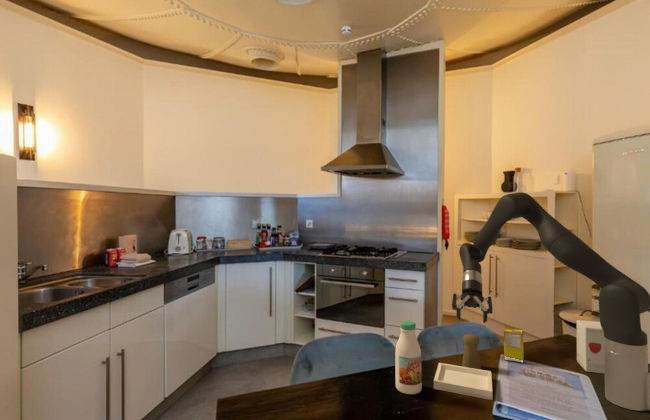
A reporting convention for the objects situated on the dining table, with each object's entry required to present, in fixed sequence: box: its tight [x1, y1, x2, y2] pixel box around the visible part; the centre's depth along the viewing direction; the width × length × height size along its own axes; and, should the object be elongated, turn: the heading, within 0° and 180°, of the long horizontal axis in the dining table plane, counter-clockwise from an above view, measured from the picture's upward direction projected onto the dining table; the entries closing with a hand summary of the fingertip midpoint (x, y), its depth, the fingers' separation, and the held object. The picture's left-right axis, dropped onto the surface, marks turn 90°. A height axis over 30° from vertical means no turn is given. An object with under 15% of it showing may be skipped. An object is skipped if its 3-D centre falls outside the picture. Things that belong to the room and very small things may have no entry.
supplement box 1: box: [503, 326, 525, 361], centre depth 124 cm, size 6×6×11 cm
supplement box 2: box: [576, 319, 605, 375], centre depth 116 cm, size 9×9×15 cm
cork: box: [461, 333, 482, 370], centre depth 118 cm, size 6×6×11 cm
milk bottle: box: [394, 320, 423, 395], centre depth 104 cm, size 8×8×20 cm
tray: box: [433, 362, 493, 401], centre depth 106 cm, size 16×14×2 cm
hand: (471, 320), depth 127 cm, fingers open, 8 cm apart
